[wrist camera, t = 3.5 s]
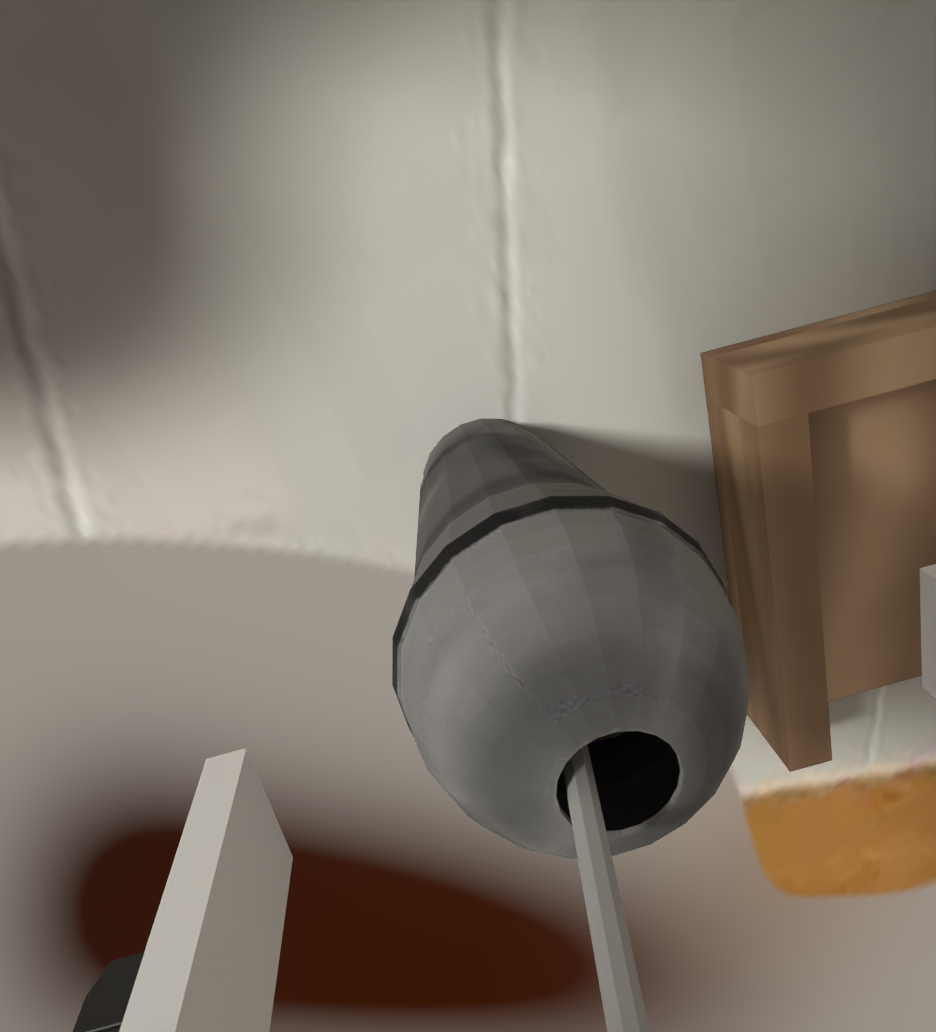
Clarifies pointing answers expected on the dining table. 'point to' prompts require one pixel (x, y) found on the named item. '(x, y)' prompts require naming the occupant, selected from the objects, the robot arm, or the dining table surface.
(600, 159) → the dining table surface
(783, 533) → the u rest
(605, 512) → the beverage cup
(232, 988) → the robot arm
